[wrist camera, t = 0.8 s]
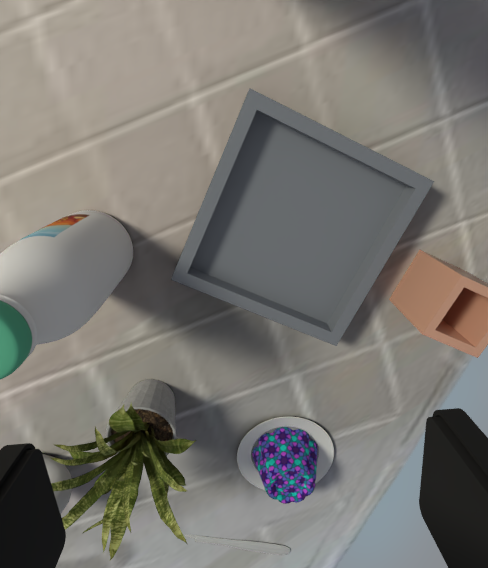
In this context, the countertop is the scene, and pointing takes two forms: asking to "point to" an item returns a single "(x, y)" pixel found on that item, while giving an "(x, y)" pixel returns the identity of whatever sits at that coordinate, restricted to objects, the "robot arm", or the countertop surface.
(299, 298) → the tray
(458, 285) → the open square box
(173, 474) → the house plant
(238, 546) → the butter knife
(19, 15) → the countertop surface
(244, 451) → the purple dotted hat
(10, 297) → the milk bottle
